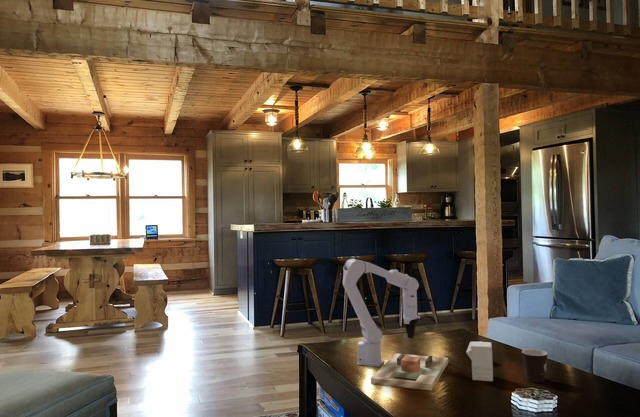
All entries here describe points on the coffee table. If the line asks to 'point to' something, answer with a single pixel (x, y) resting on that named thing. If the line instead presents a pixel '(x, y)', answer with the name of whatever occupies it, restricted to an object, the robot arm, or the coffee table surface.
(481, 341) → the die
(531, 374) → the coffee mug
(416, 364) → the block
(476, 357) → the supplement box
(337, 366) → the coffee table surface
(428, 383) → the deck
